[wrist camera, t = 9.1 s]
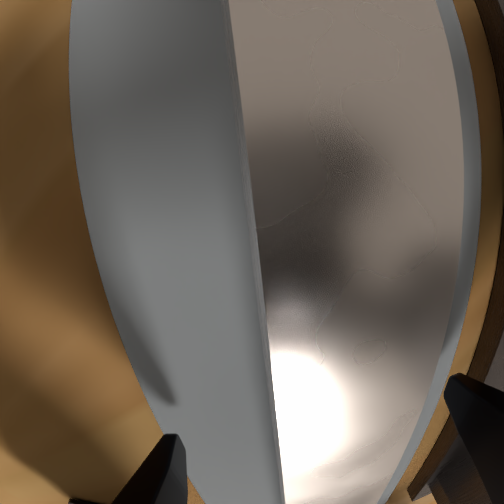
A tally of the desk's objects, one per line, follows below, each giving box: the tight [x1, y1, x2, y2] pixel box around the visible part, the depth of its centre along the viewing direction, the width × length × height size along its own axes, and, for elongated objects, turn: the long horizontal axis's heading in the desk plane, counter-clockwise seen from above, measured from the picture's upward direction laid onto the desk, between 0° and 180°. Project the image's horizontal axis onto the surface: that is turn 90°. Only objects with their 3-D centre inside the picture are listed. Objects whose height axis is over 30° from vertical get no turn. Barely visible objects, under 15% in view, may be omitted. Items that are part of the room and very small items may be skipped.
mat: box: [69, 0, 481, 504], centre depth 9 cm, size 11×32×1 cm, turn 7°
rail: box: [220, 0, 464, 504], centre depth 7 cm, size 3×28×3 cm, turn 6°
